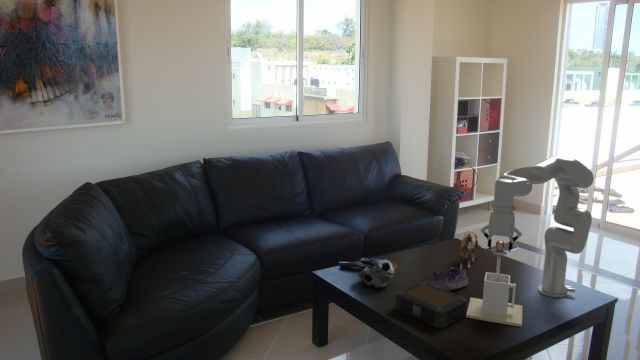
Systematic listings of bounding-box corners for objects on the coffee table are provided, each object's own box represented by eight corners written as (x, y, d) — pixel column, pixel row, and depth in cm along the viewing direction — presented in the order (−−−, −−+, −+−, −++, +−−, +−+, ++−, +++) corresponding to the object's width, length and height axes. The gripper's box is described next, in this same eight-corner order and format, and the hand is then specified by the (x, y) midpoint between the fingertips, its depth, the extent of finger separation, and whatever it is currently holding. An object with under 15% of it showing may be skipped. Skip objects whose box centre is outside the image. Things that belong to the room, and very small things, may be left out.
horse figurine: (469, 275, 258) (472, 237, 254) (454, 272, 262) (456, 234, 258) (480, 256, 285) (483, 221, 281) (467, 253, 289) (469, 219, 285)
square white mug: (522, 308, 223) (525, 274, 219) (521, 326, 206) (525, 290, 203) (470, 299, 231) (472, 266, 227) (466, 317, 214) (468, 282, 211)
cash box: (392, 309, 222) (393, 292, 221) (421, 296, 235) (422, 280, 234) (440, 330, 204) (440, 313, 202) (468, 315, 217) (469, 298, 215)
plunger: (506, 286, 218) (510, 240, 214) (506, 293, 211) (510, 246, 207) (487, 283, 221) (490, 238, 217) (486, 290, 214) (489, 243, 210)
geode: (443, 297, 234) (442, 276, 233) (425, 291, 244) (424, 271, 243) (473, 285, 245) (471, 265, 244) (454, 280, 255) (453, 261, 254)
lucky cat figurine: (373, 274, 260) (388, 250, 255) (389, 292, 251) (406, 267, 247) (352, 274, 248) (368, 248, 243) (369, 292, 239) (386, 267, 234)
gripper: (525, 208, 209) (521, 249, 213) (481, 204, 215) (478, 244, 219) (525, 213, 202) (521, 255, 206) (480, 209, 209) (477, 249, 212)
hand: (499, 249), depth 212 cm, fingers open, 7 cm apart
